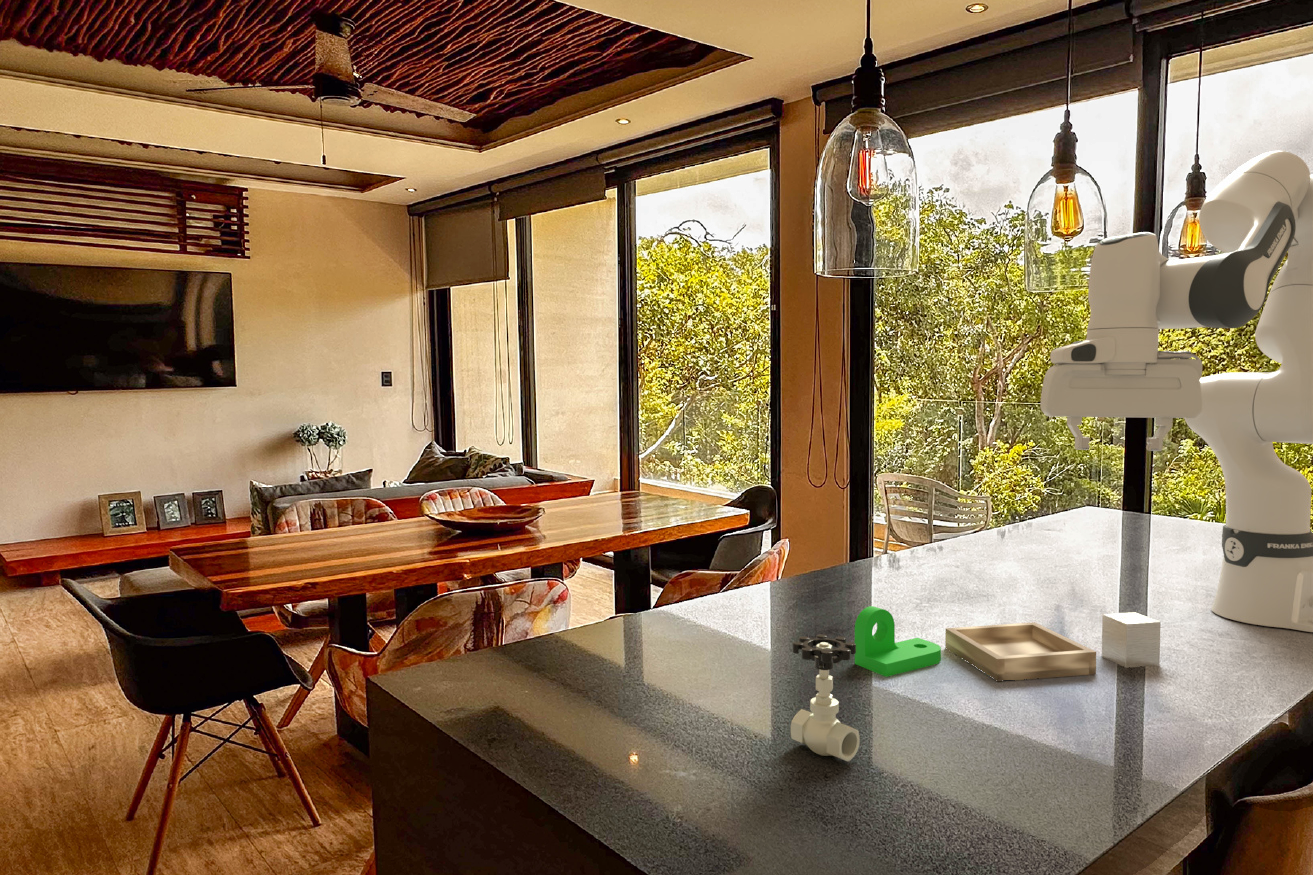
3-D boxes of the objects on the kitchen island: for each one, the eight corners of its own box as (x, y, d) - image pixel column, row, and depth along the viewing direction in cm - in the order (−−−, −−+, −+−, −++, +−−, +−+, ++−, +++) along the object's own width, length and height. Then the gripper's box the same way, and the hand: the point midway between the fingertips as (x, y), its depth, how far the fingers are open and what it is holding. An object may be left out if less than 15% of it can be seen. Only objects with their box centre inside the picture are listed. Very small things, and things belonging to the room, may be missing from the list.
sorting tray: (1034, 642, 131) (1034, 622, 131) (1095, 673, 117) (1096, 651, 117) (945, 648, 129) (945, 628, 128) (997, 681, 115) (997, 659, 115)
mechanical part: (886, 678, 117) (886, 619, 117) (854, 666, 123) (854, 609, 122) (950, 662, 123) (950, 605, 123) (917, 651, 129) (917, 596, 128)
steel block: (1134, 653, 125) (1134, 611, 125) (1159, 665, 120) (1160, 621, 120) (1101, 656, 124) (1102, 614, 124) (1125, 667, 119) (1126, 624, 119)
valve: (820, 735, 99) (819, 630, 98) (869, 754, 94) (869, 643, 93) (780, 752, 95) (779, 642, 94) (829, 773, 90) (828, 657, 89)
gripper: (1192, 351, 125) (1188, 449, 126) (1039, 351, 128) (1035, 447, 129) (1213, 350, 119) (1208, 453, 120) (1051, 350, 122) (1047, 450, 123)
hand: (1117, 450), depth 124 cm, fingers open, 8 cm apart
